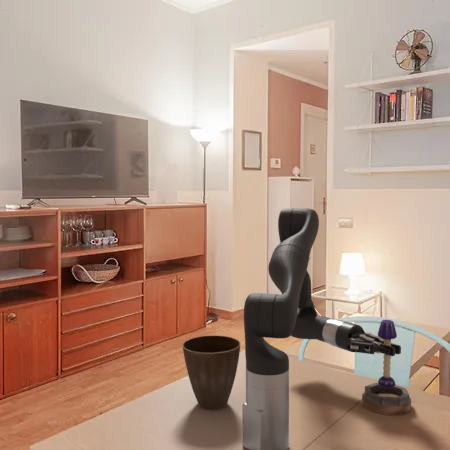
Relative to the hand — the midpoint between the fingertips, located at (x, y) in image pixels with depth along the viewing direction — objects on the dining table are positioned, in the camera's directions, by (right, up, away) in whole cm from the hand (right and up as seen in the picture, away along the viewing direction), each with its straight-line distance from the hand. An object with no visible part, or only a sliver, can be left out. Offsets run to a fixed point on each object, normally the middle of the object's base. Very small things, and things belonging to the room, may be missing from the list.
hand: (397, 351), depth 128 cm
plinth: (-2, -15, +3) cm, 15 cm away
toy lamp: (-2, -10, +3) cm, 10 cm away
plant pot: (-46, -15, +5) cm, 49 cm away
